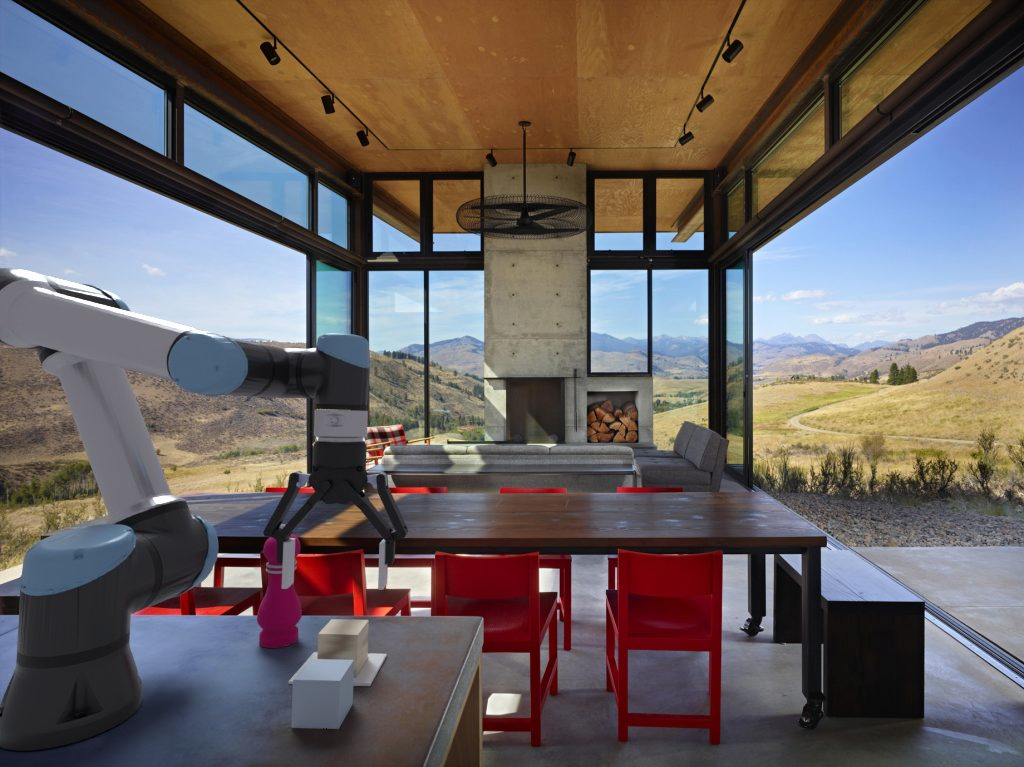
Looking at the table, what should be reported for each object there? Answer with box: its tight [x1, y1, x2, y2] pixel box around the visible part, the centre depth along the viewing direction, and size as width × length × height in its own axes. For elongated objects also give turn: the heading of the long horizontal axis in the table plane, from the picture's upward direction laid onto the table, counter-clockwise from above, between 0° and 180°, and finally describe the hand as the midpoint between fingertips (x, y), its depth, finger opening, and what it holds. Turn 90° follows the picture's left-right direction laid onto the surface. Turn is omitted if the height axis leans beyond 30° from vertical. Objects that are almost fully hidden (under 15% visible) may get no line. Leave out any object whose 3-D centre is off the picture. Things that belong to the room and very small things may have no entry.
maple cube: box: [317, 618, 370, 676], centre depth 87 cm, size 6×6×6 cm
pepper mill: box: [256, 523, 303, 649], centre depth 98 cm, size 7×7×20 cm
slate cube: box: [290, 659, 354, 730], centre depth 74 cm, size 6×6×6 cm
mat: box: [288, 651, 388, 687], centre depth 87 cm, size 12×10×1 cm
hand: (335, 586), depth 81 cm, fingers open, 13 cm apart
